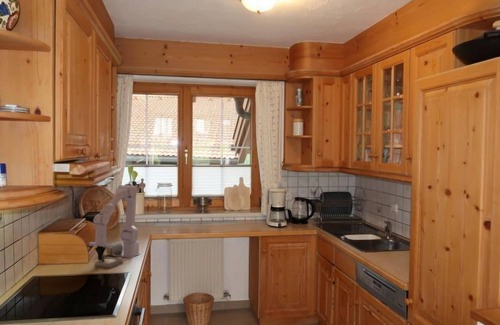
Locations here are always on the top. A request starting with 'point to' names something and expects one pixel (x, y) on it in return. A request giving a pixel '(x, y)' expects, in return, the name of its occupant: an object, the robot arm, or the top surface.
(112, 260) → the dial
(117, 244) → the ceramic mug
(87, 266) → the top surface
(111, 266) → the dial plate
